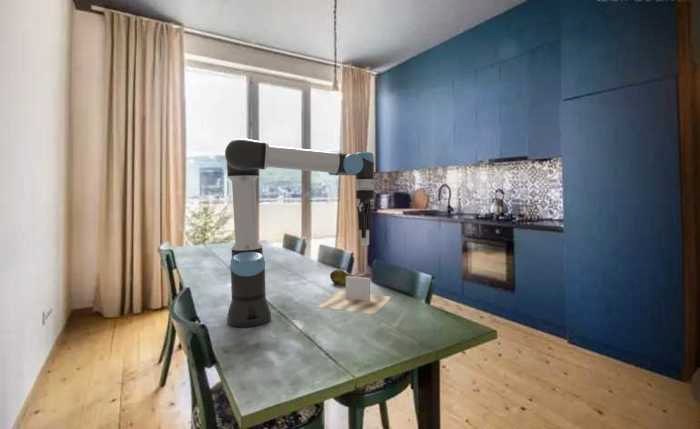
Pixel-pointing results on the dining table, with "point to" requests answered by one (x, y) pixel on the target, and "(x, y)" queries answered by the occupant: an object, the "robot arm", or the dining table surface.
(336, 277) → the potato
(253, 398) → the dining table surface
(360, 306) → the board
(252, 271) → the robot arm
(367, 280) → the tile
